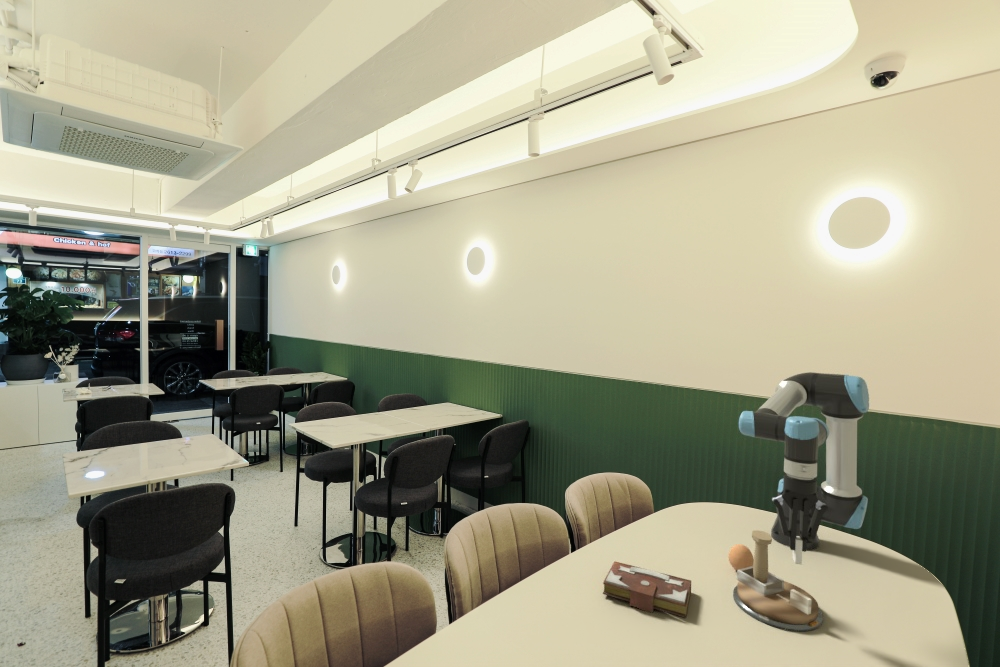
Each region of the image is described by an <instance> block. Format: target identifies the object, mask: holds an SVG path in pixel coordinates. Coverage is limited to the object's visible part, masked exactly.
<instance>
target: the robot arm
mask: <svg viewBox="0 0 1000 667" xmlns="http://www.w3.org/2000/svg"><path fill="white" fill-rule="evenodd" d="M868 388H869V387H868V386H867V382H866V381H865V379H863V377H861V376H858V375H857V376H856V375H849V374H839V373H837V374H836V373H821V372H814V371H813V372H811V371H810V372H802V373H797V374H794V375H792V376H789V377H786V378H785V379H783V380H782V381H780V383H778V385H776V387H775V391H774V393H773V394H772V395H771V396H770V397H769V398H768V399H767V400H766V401H764V403H762V405H761V406H759V408H758V409H757V410H756V411H753V410H750V411H749V410H743V411H742V412H741V414H740V416H739V419H738V430H739V431H740V433H741V434H742V435H744V436H747V437H752V438H757V439H763V440H768V441H769V440H770V441H776V442H781V443H784V458H783V459H784V461H783V472H784V473H783V478H781V479H780V480H779V481H778V487H777V496H772V497H771V501H772V502H773V504H774V506H775V508H776V513H777V514H776V519H775V520H774V523H773V525H772V527H771V532H770V536H771V537H772V540H774V541H776V542H777V543H779V544H781V545H783V546H786V547H787V548H788V547H789V549H790V550H791V551H792V559H791V560H793V563H794V565H800V566H801V565H803V564H802V563H803V562H802V561H803V553H804V552H807V551H810V550H811V551H812V550H816V549H818V548H819V546H820V539H819V536H818V531H819V528H820V525H821V522H826V523H830V524H833V525H837V526H841V527H844V528H848V529H854V530H858V529H860V528H862V526H863V522H864V520H865V516H866V514H867V513H866V512H867V508H868V500H869V499H868V497H867V496H865V495H863V490H862V488H861V487H859V485H857V482H858V481H857V480H858V479H857V477H858V476H857V475H858V474H857V472H858V471H857V469H858V468H857V465H858V464H857V463H858V460H857V459H858V458H857V457H858V420H860V419H862V418H863V417H864V414H865V413H867V412H869V410H870V395H869V389H868ZM802 405H803V406H813V407H819V408H820V413H821V414H822V416H824V417H825V419H826V420H825V422H824V421H823V420H822V419H819V418H817V417H807V416H798V415H797V416H796V415H795V416H790V415H791V414H792V412H794V410H795V409H796V408H798V407H801V406H802ZM824 444H825V445H826V446H825V449H826V450H825V451H826V452H825V464H826V470H825V478H826V479H825V481H822V483H821V484H820V486H819V485H818V483H817V482H818V481H817V477H818V454H819V447H820V446H823V445H824Z"/></svg>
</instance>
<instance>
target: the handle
mask: <svg viewBox="0 0 1000 667" xmlns="http://www.w3.org/2000/svg"><path fill="white" fill-rule="evenodd" d="M751 538H752V540H753V541H754V542H755V544H754V552H753V553H754V554H753V559H754V562H753V575H754V578H755V579H756V580H758V581H760V582H761V583H763V584H766V583H767V582H766V581H767V577H768V572H769V546H770V545H771V544H772V542H773V538H772V537H771V534H769V533H768V532H766V531H763V530H758V529H755V530H754V529H753V530H752V532H751Z"/></svg>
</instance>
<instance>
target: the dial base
mask: <svg viewBox="0 0 1000 667" xmlns="http://www.w3.org/2000/svg"><path fill="white" fill-rule="evenodd" d="M732 593H733V596H732V597H733V601H734V603H735V604H736V605H737V607H738V608H739V609H740V610H742V611H743V612H744V613H745V614H746V615H748V616H750V617H751V618H753V619H755V620H757V621H759V622H760V623H763V624H765V625H767V626H770V627H773V628H776V629H780V630H785V631H789V632H790V631H791V632H799V633H800V632H801V633H802V632H805V633H806V632H811V631H815V630H818V629H819V628H820V627H821V626H822V625H823V617H824V616H823V615H824V614H823V613H822V611H821V609H820V608H819V610H818V618H817V619H816V620H815V621H814V622H812V623H808V624H789V623H784V622H779V621H776V620H773V619H770V618H768V617H765V616H763V615H761V614H758V613H756V612H755V611H753V610H751V609H750V608H748V607H747V606H746V605H745V604H744V603H743V602H742V601H741V600H740V599H739V597H738V594H737V585H736V586H735V587H734V589H733V592H732Z"/></svg>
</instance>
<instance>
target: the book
mask: <svg viewBox="0 0 1000 667" xmlns="http://www.w3.org/2000/svg"><path fill="white" fill-rule="evenodd" d="M602 584H603V585H604V586H603V592H602V594H603V595H605V596H608V597H612V598H614V599H615V598H616V599H619V600H623V601H626V602H629V607H631V606H634V607H637V608H639V609H638V610H641V609H642V611H644V610H645V611H644V612H648V611H649V612H648V613H651V612H652V613H653V612H654V610H657V611H660V612H665V613H668V614H672V615H675V616H679V617H682V618H687V614H688V610H689V603H690V598H691V594H692V580H690V579H685V578H682V577H679V576H674V575H671V574H667V573H663V572H658V571H654V570H651V569H646V568H642V567H640V566H639V567H638V566H634V565H631V564H627V563H623V562H619V561H616V560H615V561H614V562H613V563H612V564H611V566H610V569H609V571H608V572H607V575H606V576H605V578H604V580H603V582H602ZM634 607H633V608H634ZM637 608H636V609H637Z"/></svg>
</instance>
